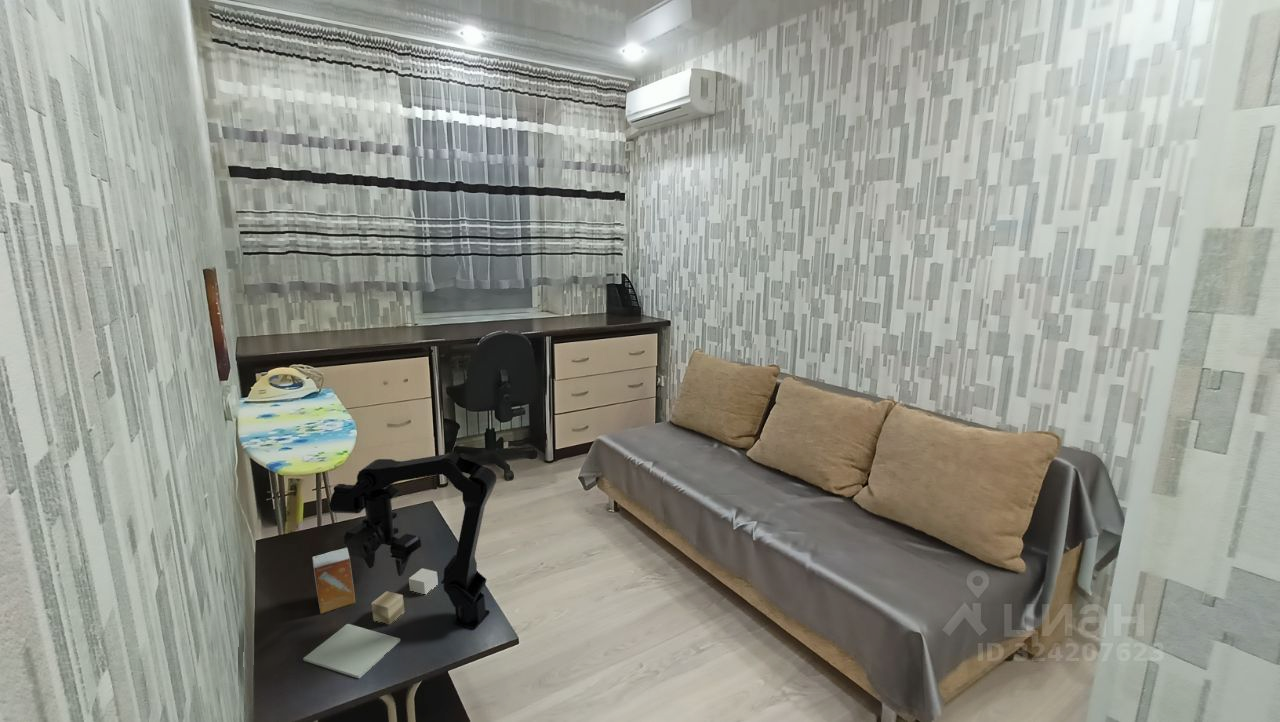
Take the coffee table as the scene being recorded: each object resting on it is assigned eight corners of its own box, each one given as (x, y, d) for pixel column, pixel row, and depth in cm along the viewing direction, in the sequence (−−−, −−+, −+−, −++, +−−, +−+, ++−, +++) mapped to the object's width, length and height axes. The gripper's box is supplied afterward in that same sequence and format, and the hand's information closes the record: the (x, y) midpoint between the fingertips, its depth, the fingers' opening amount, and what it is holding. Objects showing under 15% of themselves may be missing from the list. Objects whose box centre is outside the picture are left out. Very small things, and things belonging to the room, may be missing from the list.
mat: (400, 640, 129) (400, 638, 129) (359, 678, 118) (358, 676, 118) (347, 625, 135) (347, 623, 134) (303, 660, 123) (303, 658, 123)
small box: (320, 614, 139) (313, 568, 136) (318, 601, 144) (311, 556, 141) (356, 603, 143) (350, 557, 140) (353, 590, 148) (347, 546, 145)
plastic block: (438, 584, 150) (436, 571, 150) (425, 595, 146) (423, 582, 145) (423, 581, 152) (421, 568, 151) (410, 591, 147) (408, 578, 147)
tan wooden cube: (404, 612, 139) (402, 595, 138) (389, 625, 135) (387, 607, 134) (388, 608, 141) (386, 591, 140) (373, 621, 136) (371, 603, 135)
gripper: (320, 522, 128) (329, 582, 131) (383, 536, 122) (390, 599, 125) (359, 501, 138) (366, 557, 141) (419, 513, 132) (425, 572, 135)
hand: (385, 571), depth 135 cm, fingers open, 9 cm apart
